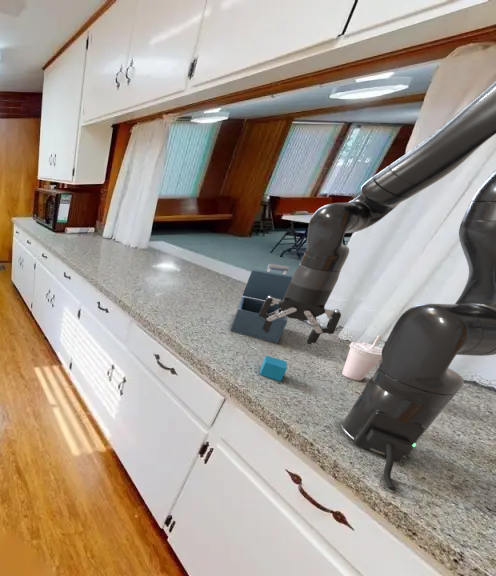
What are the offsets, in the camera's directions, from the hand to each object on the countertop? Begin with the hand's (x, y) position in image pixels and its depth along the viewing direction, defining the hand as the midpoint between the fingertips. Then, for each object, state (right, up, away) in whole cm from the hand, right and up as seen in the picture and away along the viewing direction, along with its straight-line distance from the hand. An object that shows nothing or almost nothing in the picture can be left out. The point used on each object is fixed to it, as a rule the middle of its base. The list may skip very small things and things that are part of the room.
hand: (286, 337), depth 81 cm
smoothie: (+22, -12, +3) cm, 25 cm away
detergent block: (0, -12, +4) cm, 12 cm away
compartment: (+16, -1, +27) cm, 31 cm away
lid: (+17, +14, +22) cm, 31 cm away
